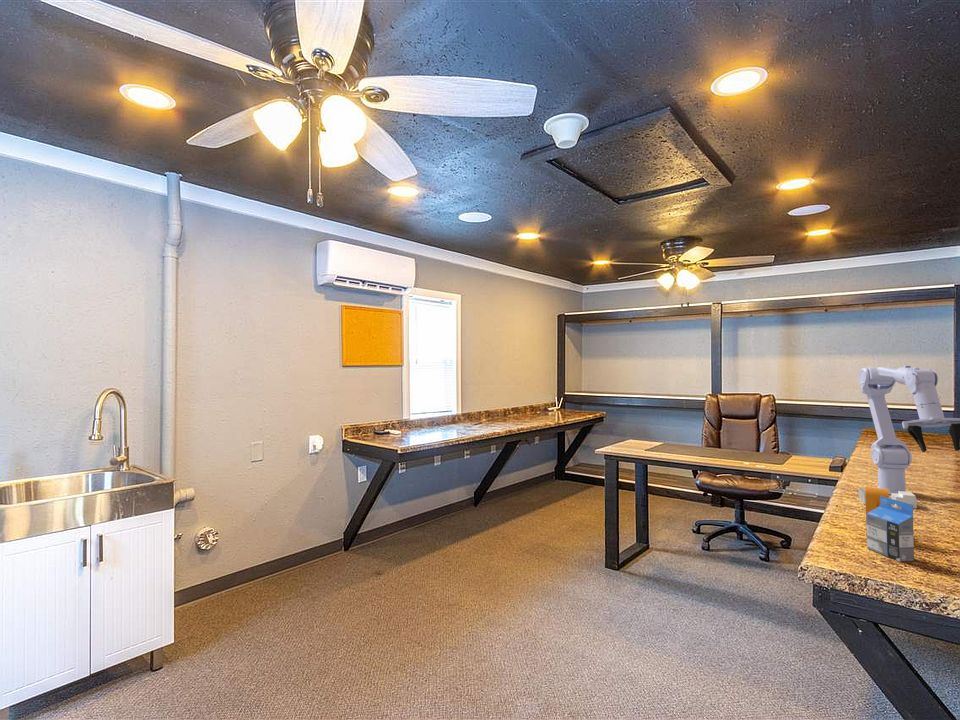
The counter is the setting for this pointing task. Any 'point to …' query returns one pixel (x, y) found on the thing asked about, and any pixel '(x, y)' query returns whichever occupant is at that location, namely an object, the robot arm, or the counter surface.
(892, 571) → the counter surface
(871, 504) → the bracket
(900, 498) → the chute piece
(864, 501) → the chute mount
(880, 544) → the ink cartridge box
